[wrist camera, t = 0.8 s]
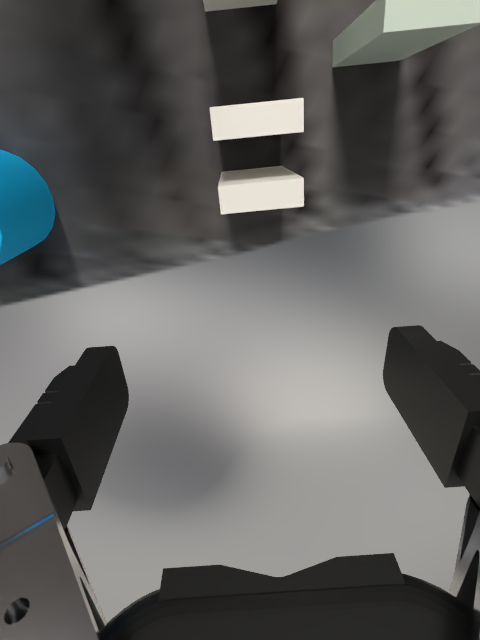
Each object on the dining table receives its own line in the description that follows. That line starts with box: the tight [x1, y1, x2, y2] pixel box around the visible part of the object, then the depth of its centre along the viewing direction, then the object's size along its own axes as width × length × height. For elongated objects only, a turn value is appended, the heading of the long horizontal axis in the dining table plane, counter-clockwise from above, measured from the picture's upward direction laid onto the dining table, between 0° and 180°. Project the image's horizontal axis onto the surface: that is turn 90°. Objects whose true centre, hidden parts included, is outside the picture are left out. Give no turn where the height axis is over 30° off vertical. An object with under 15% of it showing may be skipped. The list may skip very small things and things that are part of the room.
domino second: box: [210, 98, 304, 141], centre depth 24 cm, size 2×5×10 cm, turn 95°
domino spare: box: [332, 0, 480, 68], centre depth 22 cm, size 2×5×10 cm, turn 95°
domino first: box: [218, 166, 304, 214], centre depth 26 cm, size 2×5×10 cm, turn 95°
